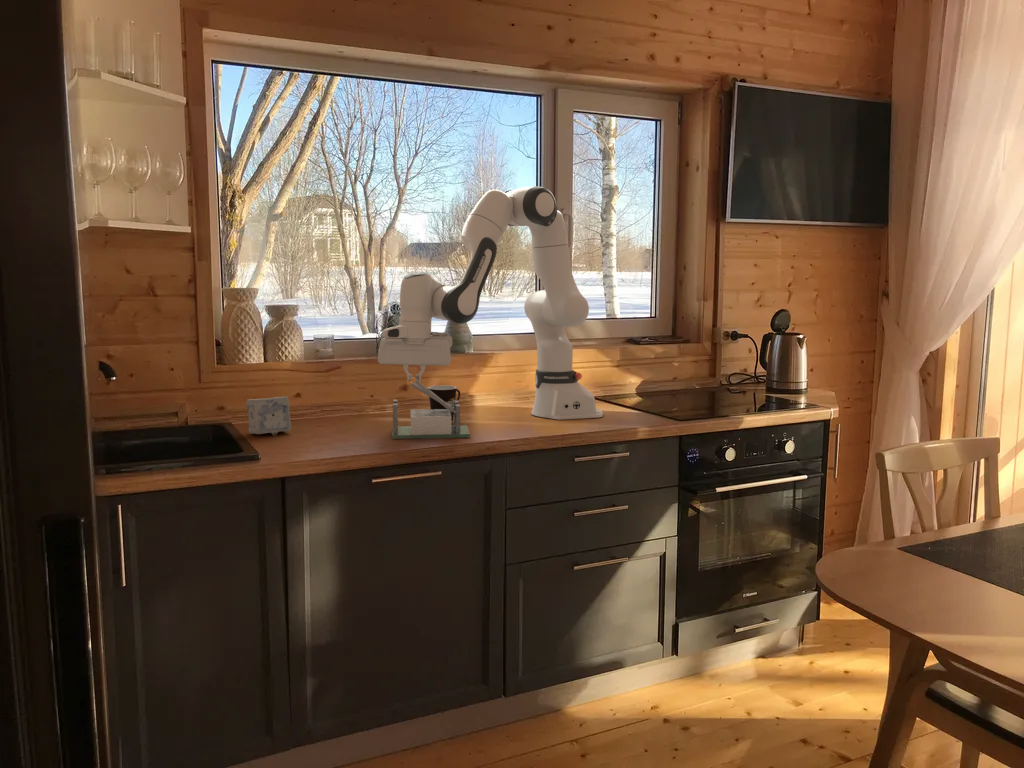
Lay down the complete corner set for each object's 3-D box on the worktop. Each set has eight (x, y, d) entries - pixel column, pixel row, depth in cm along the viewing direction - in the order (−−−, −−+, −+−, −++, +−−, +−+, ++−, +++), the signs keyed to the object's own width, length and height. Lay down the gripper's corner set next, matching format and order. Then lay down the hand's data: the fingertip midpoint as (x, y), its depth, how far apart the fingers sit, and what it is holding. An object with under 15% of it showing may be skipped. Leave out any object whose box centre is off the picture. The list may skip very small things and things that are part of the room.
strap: (451, 410, 225) (453, 408, 225) (451, 412, 222) (453, 410, 222) (411, 378, 222) (413, 376, 222) (411, 380, 219) (413, 377, 219)
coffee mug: (434, 423, 241) (434, 390, 239) (424, 418, 248) (423, 386, 247) (470, 420, 246) (470, 388, 244) (459, 415, 253) (459, 384, 252)
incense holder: (280, 429, 231) (279, 393, 230) (291, 434, 225) (290, 397, 223) (246, 433, 225) (244, 396, 224) (257, 438, 219) (255, 400, 217)
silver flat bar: (450, 407, 231) (451, 404, 231) (450, 409, 228) (452, 406, 228) (406, 381, 228) (408, 379, 228) (406, 383, 225) (408, 381, 225)
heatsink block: (466, 428, 234) (466, 397, 233) (469, 437, 222) (469, 405, 221) (393, 429, 231) (392, 398, 230) (392, 438, 220) (391, 406, 218)
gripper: (452, 331, 229) (450, 380, 231) (378, 329, 227) (378, 378, 229) (453, 333, 223) (451, 383, 225) (377, 331, 221) (377, 381, 223)
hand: (414, 380), depth 227 cm, fingers closed
